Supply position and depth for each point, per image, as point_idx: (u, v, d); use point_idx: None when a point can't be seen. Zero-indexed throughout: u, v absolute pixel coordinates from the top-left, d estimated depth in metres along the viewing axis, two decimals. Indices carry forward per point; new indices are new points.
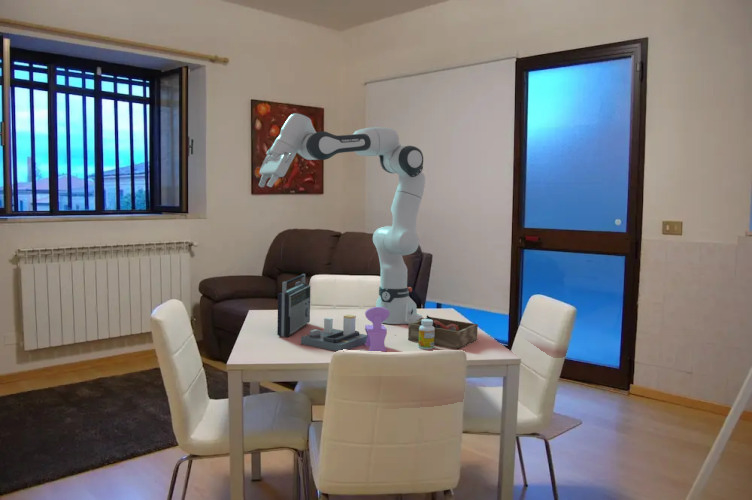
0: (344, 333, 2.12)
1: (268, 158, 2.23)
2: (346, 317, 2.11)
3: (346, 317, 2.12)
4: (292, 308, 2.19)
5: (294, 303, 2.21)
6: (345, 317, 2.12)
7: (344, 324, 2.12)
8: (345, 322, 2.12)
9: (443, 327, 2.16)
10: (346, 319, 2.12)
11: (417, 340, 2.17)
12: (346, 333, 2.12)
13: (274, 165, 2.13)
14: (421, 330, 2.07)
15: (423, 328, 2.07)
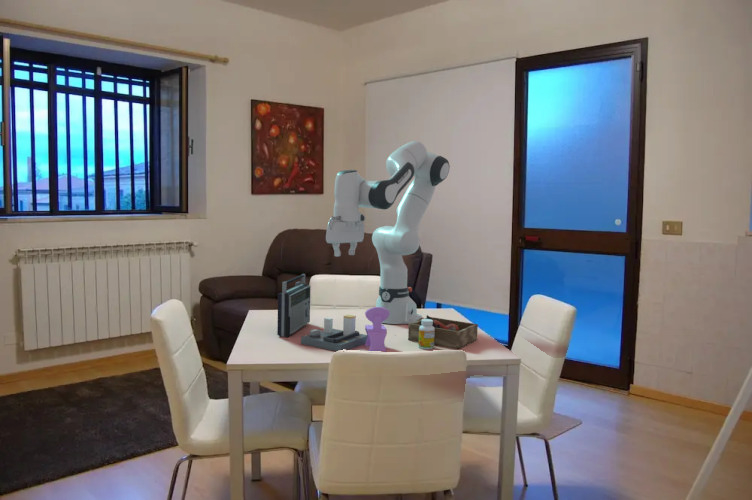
0: (344, 333, 2.12)
1: None
2: (346, 317, 2.11)
3: (346, 317, 2.12)
4: (292, 308, 2.19)
5: (294, 303, 2.21)
6: (345, 317, 2.12)
7: (344, 324, 2.12)
8: (345, 322, 2.12)
9: (443, 327, 2.16)
10: (346, 319, 2.12)
11: (417, 340, 2.17)
12: (346, 333, 2.12)
13: None
14: (421, 330, 2.07)
15: (423, 328, 2.07)
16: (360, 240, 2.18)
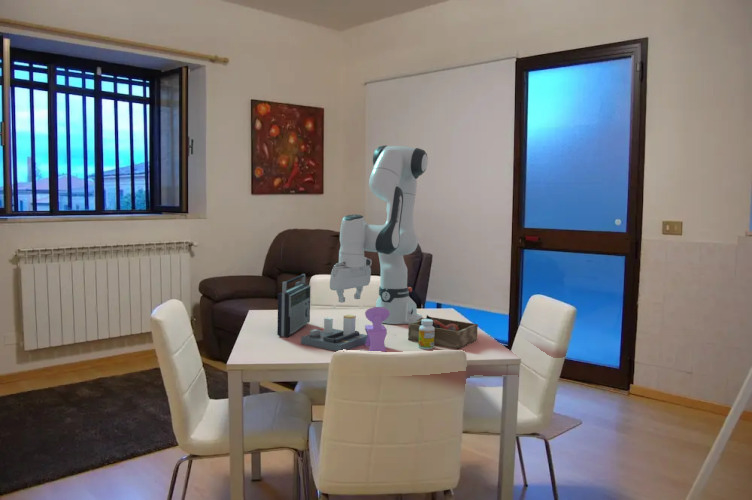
0: (344, 333, 2.12)
1: None
2: (346, 317, 2.11)
3: (346, 317, 2.12)
4: (292, 308, 2.19)
5: (294, 303, 2.21)
6: (345, 317, 2.12)
7: (344, 324, 2.12)
8: (345, 322, 2.12)
9: (443, 326, 2.17)
10: (346, 319, 2.12)
11: (417, 340, 2.17)
12: (346, 333, 2.12)
13: None
14: (421, 330, 2.07)
15: (423, 328, 2.07)
16: (366, 284, 2.17)
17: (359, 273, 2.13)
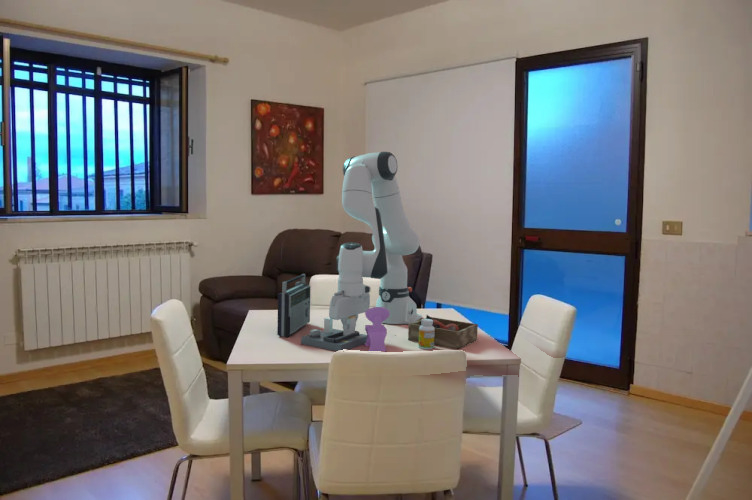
0: (344, 333, 2.12)
1: None
2: None
3: None
4: (292, 308, 2.19)
5: (294, 303, 2.21)
6: None
7: None
8: None
9: (442, 326, 2.17)
10: None
11: (417, 340, 2.17)
12: (346, 333, 2.12)
13: None
14: (421, 330, 2.07)
15: (423, 328, 2.07)
16: (365, 310, 2.18)
17: (358, 300, 2.14)
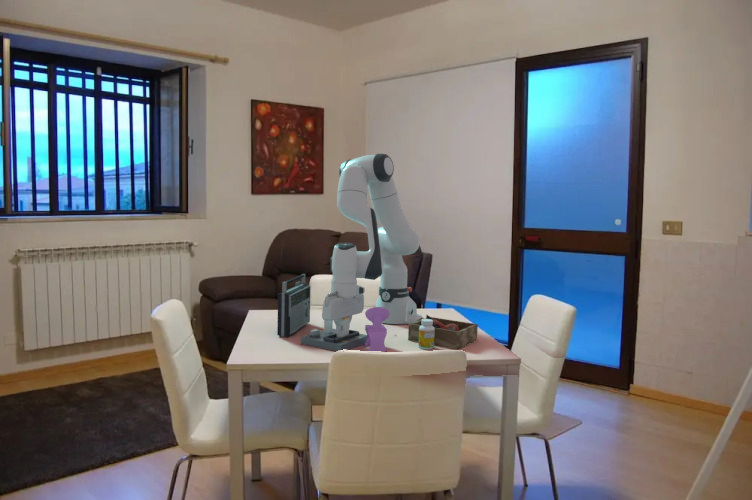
0: (337, 334, 2.09)
1: None
2: None
3: None
4: (292, 308, 2.19)
5: (294, 303, 2.21)
6: None
7: None
8: None
9: (442, 326, 2.17)
10: (340, 321, 2.08)
11: (417, 340, 2.17)
12: (340, 334, 2.09)
13: None
14: (421, 330, 2.07)
15: (423, 328, 2.07)
16: (359, 312, 2.15)
17: (352, 301, 2.11)
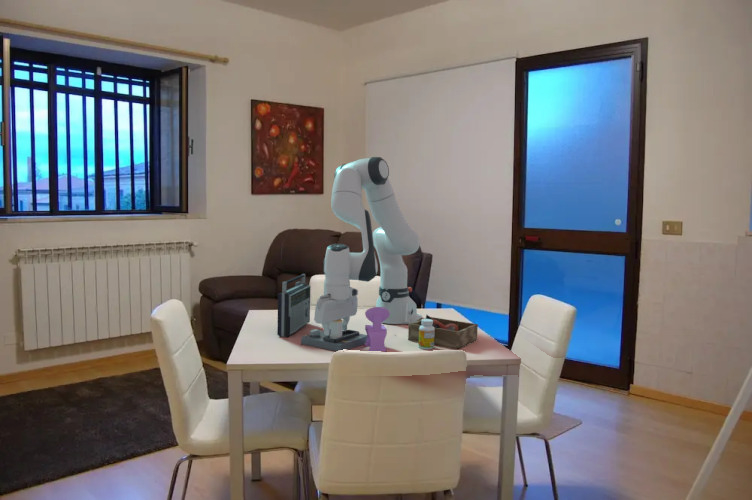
0: (331, 337, 2.06)
1: None
2: (333, 321, 2.05)
3: (332, 321, 2.05)
4: (292, 308, 2.19)
5: (294, 303, 2.21)
6: (332, 321, 2.05)
7: (331, 328, 2.05)
8: (332, 327, 2.05)
9: (442, 326, 2.17)
10: (333, 323, 2.05)
11: (417, 340, 2.17)
12: (333, 337, 2.05)
13: None
14: (421, 330, 2.07)
15: (423, 328, 2.07)
16: (353, 314, 2.11)
17: (345, 304, 2.07)
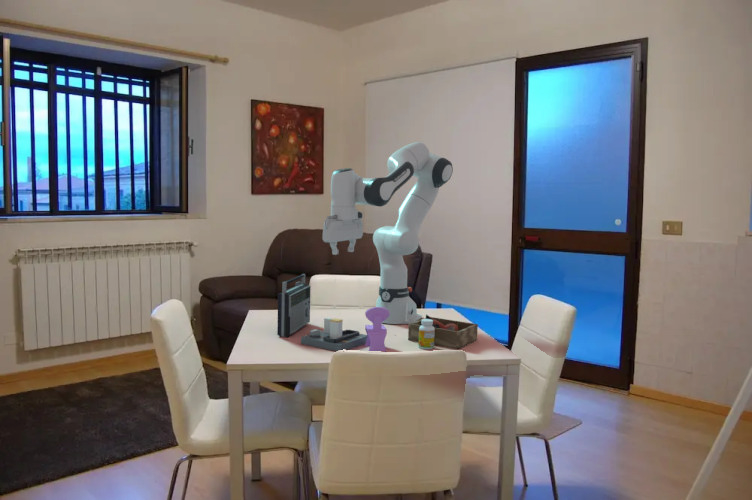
0: (331, 337, 2.06)
1: None
2: (333, 321, 2.05)
3: (332, 321, 2.05)
4: (292, 308, 2.19)
5: (294, 303, 2.21)
6: (332, 321, 2.05)
7: (331, 328, 2.05)
8: (332, 327, 2.05)
9: (442, 326, 2.17)
10: (333, 323, 2.05)
11: (417, 340, 2.17)
12: (333, 337, 2.05)
13: None
14: (421, 330, 2.07)
15: (423, 328, 2.07)
16: (359, 237, 2.21)
17: (351, 226, 2.17)
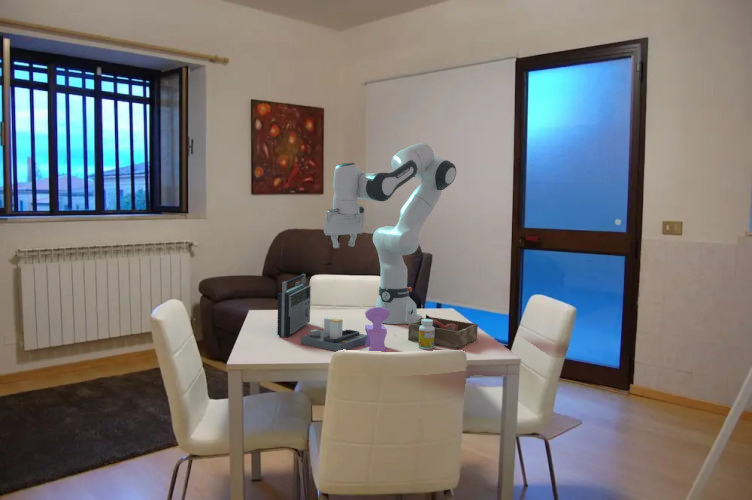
0: (331, 337, 2.06)
1: None
2: (333, 321, 2.05)
3: (332, 321, 2.05)
4: (292, 308, 2.19)
5: (294, 303, 2.21)
6: (332, 321, 2.05)
7: (331, 328, 2.05)
8: (332, 327, 2.05)
9: (441, 326, 2.17)
10: (333, 323, 2.05)
11: (417, 340, 2.17)
12: (333, 337, 2.05)
13: None
14: (421, 330, 2.07)
15: (423, 328, 2.07)
16: (360, 232, 2.22)
17: (353, 220, 2.17)
